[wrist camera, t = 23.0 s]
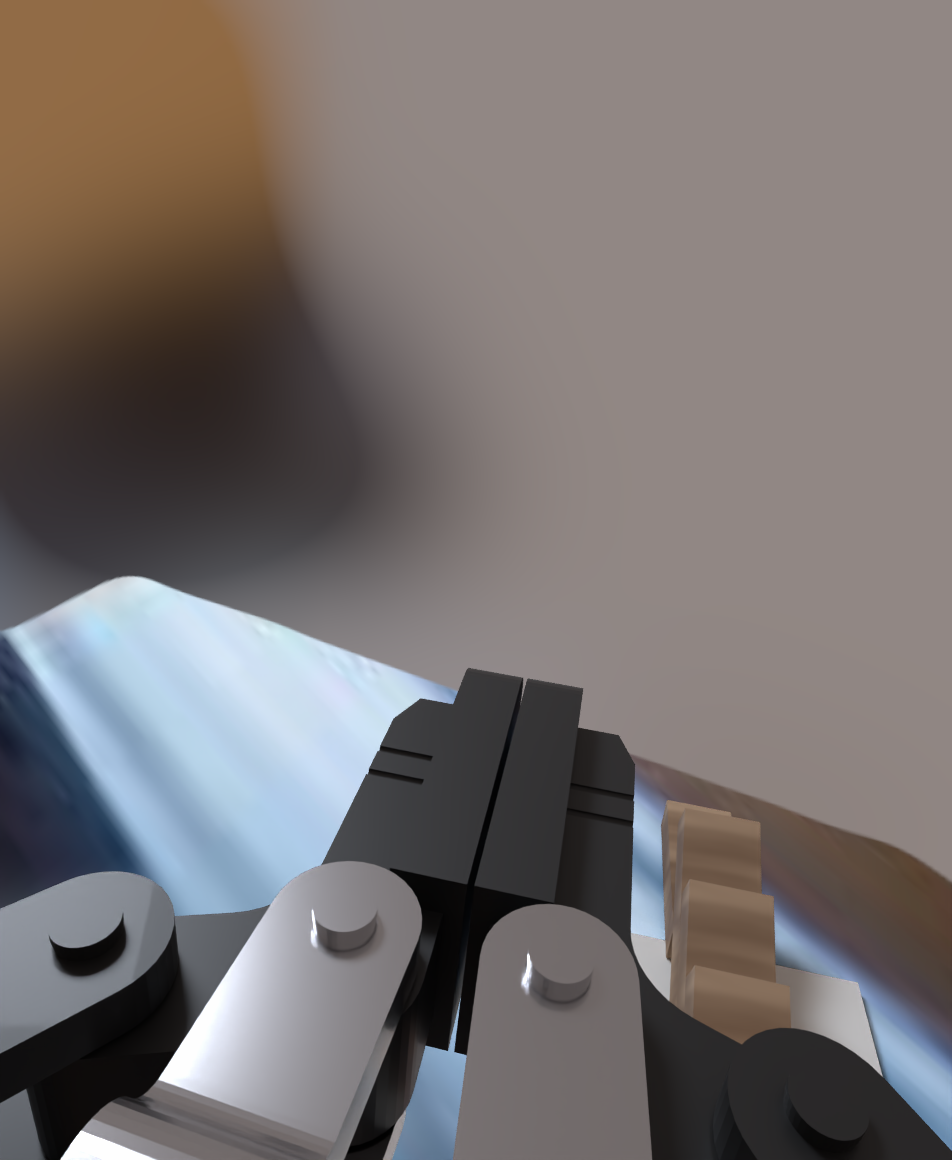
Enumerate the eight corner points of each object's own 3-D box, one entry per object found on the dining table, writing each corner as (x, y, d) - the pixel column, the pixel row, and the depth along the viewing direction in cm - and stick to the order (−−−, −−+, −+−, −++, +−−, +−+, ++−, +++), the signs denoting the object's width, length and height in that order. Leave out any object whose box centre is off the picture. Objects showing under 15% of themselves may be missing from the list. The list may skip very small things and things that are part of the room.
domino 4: (802, 1326, 28) (789, 986, 35) (683, 1294, 28) (694, 965, 35) (784, 1325, 29) (776, 998, 36) (672, 1294, 30) (685, 978, 37)
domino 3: (781, 1170, 32) (773, 896, 39) (679, 1144, 33) (689, 879, 40) (767, 1175, 34) (762, 910, 41) (669, 1150, 34) (681, 894, 41)
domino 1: (752, 946, 42) (730, 812, 52) (673, 929, 42) (667, 799, 52) (743, 974, 42) (723, 837, 52) (665, 957, 43) (661, 824, 53)
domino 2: (765, 1047, 37) (760, 822, 44) (675, 1028, 37) (685, 807, 44) (753, 1057, 38) (750, 837, 45) (667, 1038, 39) (677, 823, 46)
